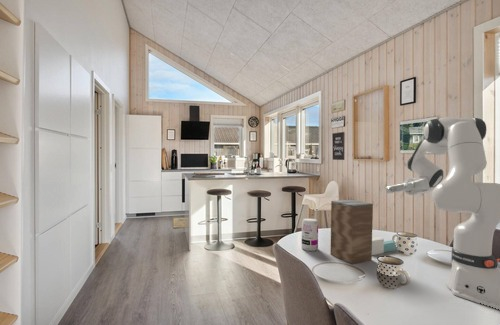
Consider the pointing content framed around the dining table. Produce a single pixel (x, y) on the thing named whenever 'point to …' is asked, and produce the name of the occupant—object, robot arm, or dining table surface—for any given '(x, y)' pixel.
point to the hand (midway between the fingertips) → (397, 187)
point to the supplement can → (309, 234)
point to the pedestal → (351, 230)
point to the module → (382, 245)
